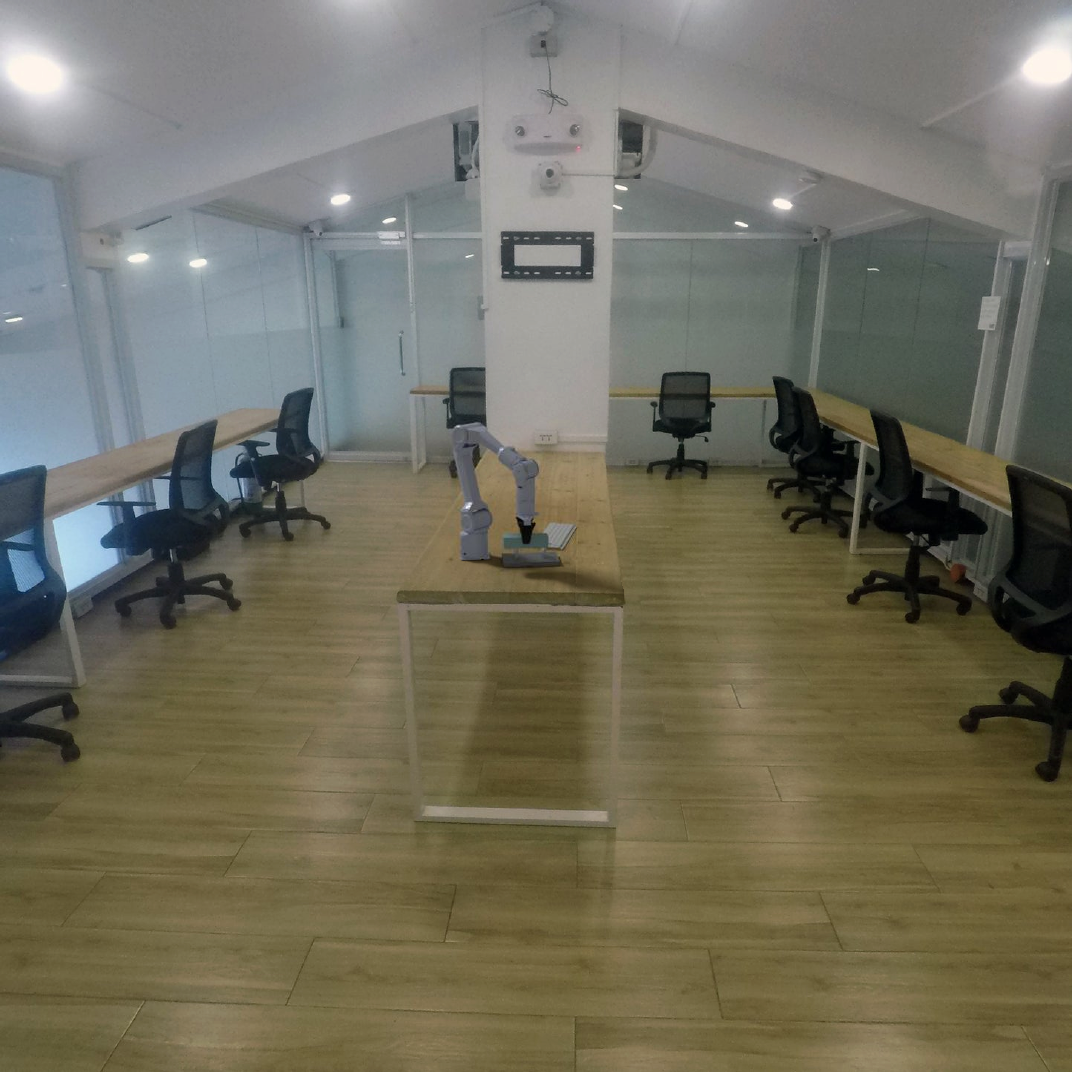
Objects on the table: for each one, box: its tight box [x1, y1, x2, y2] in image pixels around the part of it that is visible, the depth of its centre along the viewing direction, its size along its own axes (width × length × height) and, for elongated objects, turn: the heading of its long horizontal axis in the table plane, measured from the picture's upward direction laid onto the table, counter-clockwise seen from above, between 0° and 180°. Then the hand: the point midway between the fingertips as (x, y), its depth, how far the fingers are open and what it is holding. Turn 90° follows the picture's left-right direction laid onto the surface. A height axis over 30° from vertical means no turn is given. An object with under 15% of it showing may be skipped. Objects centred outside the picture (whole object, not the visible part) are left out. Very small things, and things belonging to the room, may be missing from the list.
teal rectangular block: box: [502, 532, 549, 550], centre depth 235 cm, size 14×4×4 cm, turn 96°
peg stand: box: [501, 548, 560, 568], centre depth 245 cm, size 18×10×6 cm, turn 96°
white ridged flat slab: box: [540, 522, 578, 551], centre depth 273 cm, size 31×3×12 cm
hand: (525, 541), depth 235 cm, fingers closed on teal rectangular block, 4 cm apart
